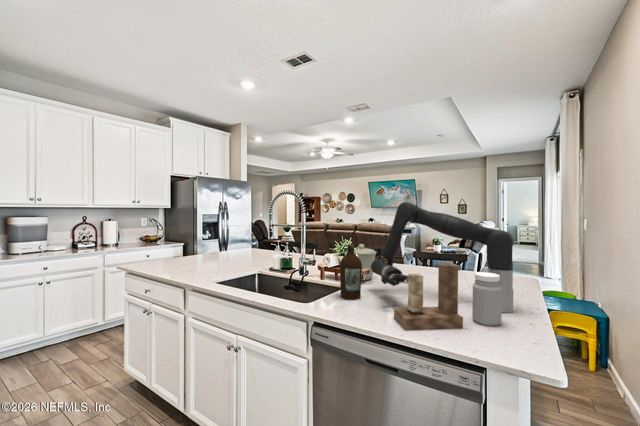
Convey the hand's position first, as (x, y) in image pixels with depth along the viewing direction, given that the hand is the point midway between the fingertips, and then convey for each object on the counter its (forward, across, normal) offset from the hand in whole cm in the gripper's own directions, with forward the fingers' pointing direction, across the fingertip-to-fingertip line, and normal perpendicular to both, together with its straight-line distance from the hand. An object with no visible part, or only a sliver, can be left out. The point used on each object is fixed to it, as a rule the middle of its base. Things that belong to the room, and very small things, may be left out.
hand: (404, 283), depth 125 cm
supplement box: (-27, +57, +13) cm, 64 cm away
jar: (+12, +27, +13) cm, 32 cm away
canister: (-62, -4, +12) cm, 64 cm away
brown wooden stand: (+11, +5, +12) cm, 17 cm away
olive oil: (-24, -18, +12) cm, 32 cm away
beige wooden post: (+11, 0, +12) cm, 17 cm away
